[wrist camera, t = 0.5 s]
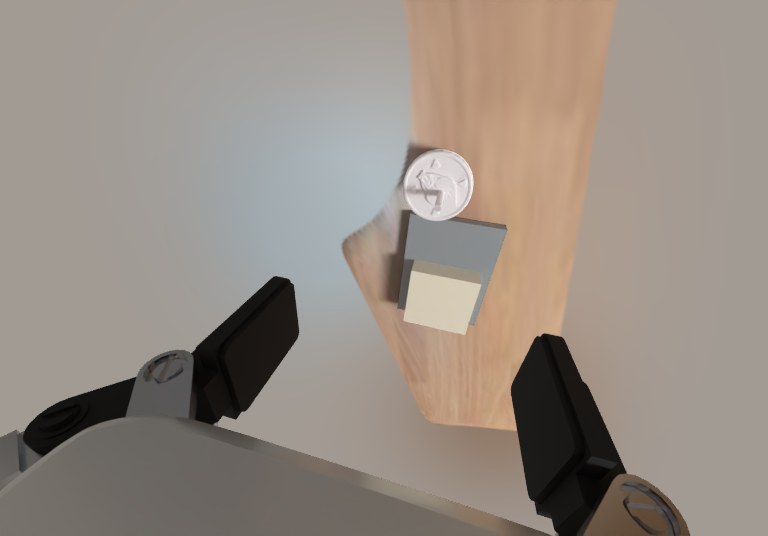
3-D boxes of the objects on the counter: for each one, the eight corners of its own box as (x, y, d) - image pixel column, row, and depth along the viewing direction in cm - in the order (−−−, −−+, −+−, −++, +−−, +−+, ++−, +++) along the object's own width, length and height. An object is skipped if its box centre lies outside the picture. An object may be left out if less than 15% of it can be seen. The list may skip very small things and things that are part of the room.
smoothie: (444, 203, 35) (434, 255, 24) (405, 169, 34) (376, 207, 23) (483, 162, 32) (494, 200, 20) (442, 124, 31) (428, 140, 19)
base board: (411, 210, 37) (406, 222, 33) (505, 225, 35) (510, 240, 31) (399, 302, 45) (393, 321, 42) (473, 319, 44) (474, 339, 40)
